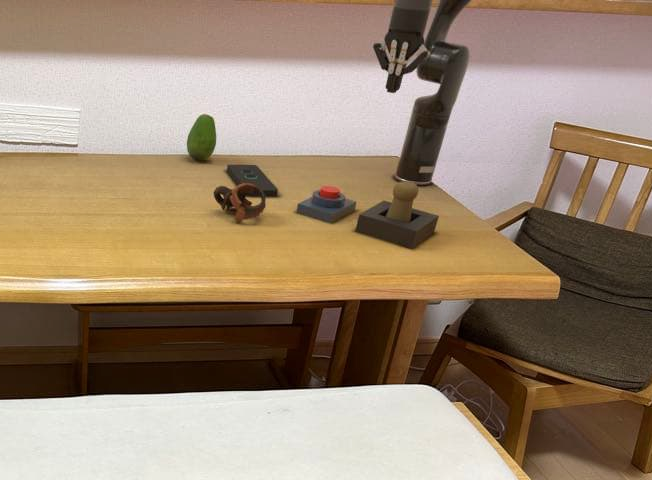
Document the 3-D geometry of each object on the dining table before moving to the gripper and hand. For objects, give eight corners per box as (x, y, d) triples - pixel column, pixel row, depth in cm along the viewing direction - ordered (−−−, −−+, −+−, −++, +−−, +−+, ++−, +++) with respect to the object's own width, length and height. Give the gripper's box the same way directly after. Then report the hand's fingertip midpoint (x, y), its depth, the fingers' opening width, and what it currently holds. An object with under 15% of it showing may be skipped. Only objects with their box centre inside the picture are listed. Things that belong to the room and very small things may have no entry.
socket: (379, 217, 174) (383, 200, 172) (433, 232, 168) (439, 215, 166) (354, 231, 166) (359, 214, 164) (411, 248, 159) (416, 230, 157)
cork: (409, 238, 164) (423, 189, 158) (381, 235, 165) (394, 185, 159) (406, 228, 169) (420, 180, 163) (379, 225, 170) (391, 177, 163)
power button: (324, 191, 176) (326, 184, 175) (341, 196, 174) (343, 189, 173) (315, 196, 173) (317, 188, 172) (333, 201, 171) (334, 193, 170)
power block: (320, 200, 182) (323, 184, 179) (354, 210, 177) (358, 194, 175) (296, 212, 174) (299, 195, 171) (331, 223, 169) (335, 206, 167)
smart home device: (256, 164, 197) (279, 190, 181) (255, 170, 198) (278, 197, 182) (226, 163, 196) (246, 189, 180) (225, 170, 197) (245, 196, 181)
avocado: (215, 165, 200) (220, 118, 193) (185, 163, 200) (190, 116, 193) (212, 156, 207) (218, 111, 200) (184, 154, 207) (188, 109, 200)
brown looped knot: (261, 211, 174) (273, 187, 167) (251, 241, 170) (263, 218, 163) (212, 192, 174) (223, 167, 167) (201, 221, 170) (212, 197, 162)
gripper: (449, 9, 159) (426, 95, 169) (390, 1, 165) (371, 84, 175) (436, 11, 154) (413, 100, 164) (375, 3, 160) (357, 88, 170)
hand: (391, 92), depth 169 cm, fingers closed
